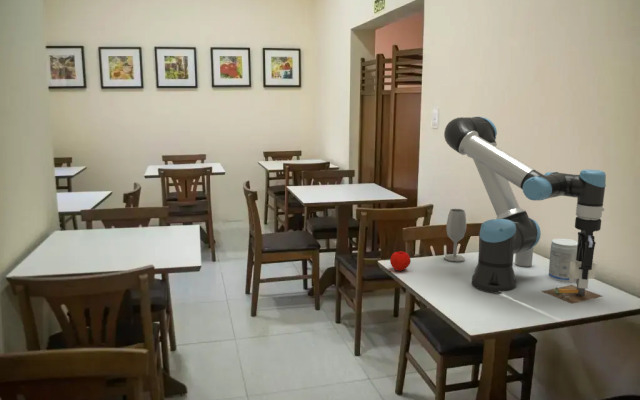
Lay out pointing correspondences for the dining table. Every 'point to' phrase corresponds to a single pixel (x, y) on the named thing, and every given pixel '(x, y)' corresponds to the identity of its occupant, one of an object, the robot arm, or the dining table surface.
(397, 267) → the apple
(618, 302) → the dining table surface
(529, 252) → the beverage can
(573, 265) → the beige block on post
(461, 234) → the wineglass
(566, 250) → the supplement tub
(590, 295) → the base
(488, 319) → the dining table surface
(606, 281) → the dining table surface
